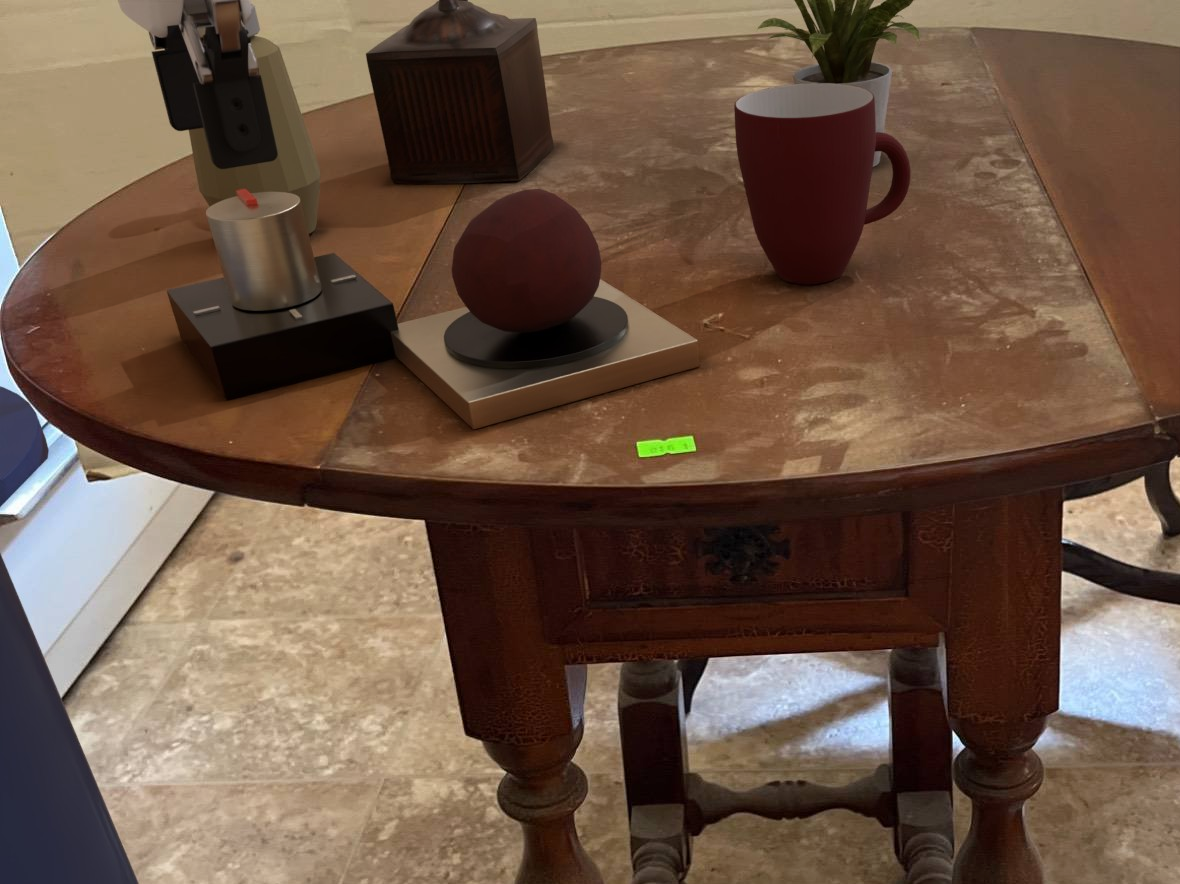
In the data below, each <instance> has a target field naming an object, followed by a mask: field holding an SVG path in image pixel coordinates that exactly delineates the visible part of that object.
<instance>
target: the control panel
mask: <svg viewBox="0 0 1180 884" xmlns="http://www.w3.org/2000/svg"><path fill="white" fill-rule="evenodd" d="M314 259H315V263H316V267H317V271H318V275H319V279H320V284H321V292H320V293H319V294H318V295H317V296H316V297H314V298H313V299H311V300H309V301H307V302H305V303H302V304H299V305H296V306H292V307H289V308H284V309H278V310H271V311H247V310H242V309H238V308H236V307H234V306H233V305H232V303H231V301H230V297H229V294H228V290H227V287H226V283H225V279H224V276H223V277H219V278H214V279H210V280H205V281H201V282H196V283H192V284H188V285H183V286H179V287H173V288H170V289H166V294H167V297H168V300H169V304H170V308H171V311H172V313H173V317H174V320H175V324H176V327H177V329H178V333H179V337H180V340H181V341H182V342H183V344H184V345H185V346H186V347H187V349H188V350H189V351H190V353H191V354H192V356H193V357H194V359H195V360H196V361H197V362H198V364H199V365H200V366H201V368H202V369H203V370H204V372H205V373H206V375H207V376H208V377H209V379H210V380H211V381H212V382H213V384H214V385H215V387H216V388H217V389H218V390H219V392H220V393H221V394H222V396H223V397H224V398H225V400H227V401H229V400H233V399H236V398H240V397H244V396H248V395H252V394H255V393H260V392H263V391H267V390H271V389H275V388H279V387H284V386H288V385H292V384H295V383H298V382H304V381H308V380H311V379H315V378H320V377H323V376H327V375H331V374H335V373H339V372H343V371H347V370H351V369H354V368H358V367H363V366H366V365H370V364H374V363H379V362H382V361H386V360H391V359H393V358H397V357H396V355H395V351H394V346H393V341H392V337H391V331H395V330H399V329H398V320H397V316H396V311H395V306H394V303H393V302H392V301H391V300H390V299H389V298H387V297H386V295H384V294H383V293H382V292H381V291H379V290H378V289H377V288H376V287H375V286H373V285H372V284H371V283H370V282H369V281H367V279H365V277H363V276H362V275H361V274H359V272H358V271H356V270H355V269H353V268H352V267H351V265H349V264H348V263H347V262H345V260H343V259H342V258H341V257H340V256H339V255H338V254H336V253H335V252H332V253H327V254H322V255H318V256H314Z"/></svg>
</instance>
